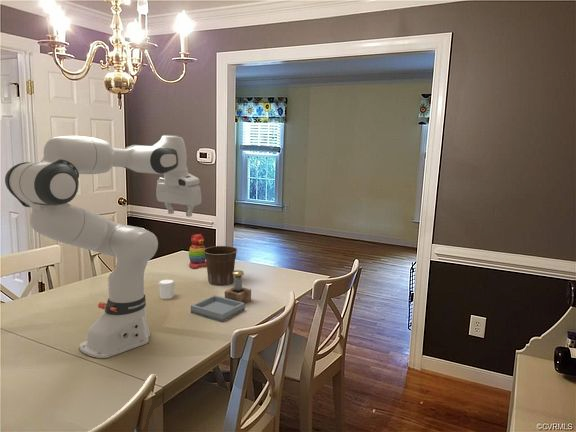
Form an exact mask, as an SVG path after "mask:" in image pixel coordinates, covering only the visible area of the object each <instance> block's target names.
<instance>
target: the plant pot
mask: <svg viewBox="0 0 576 432" xmlns="http://www.w3.org/2000/svg"><path fill="white" fill-rule="evenodd" d="M204 253H205V261H206V264H207V267H206V270H207V271H206V272H207V282H208V283H209V284H210V285H213V286H219V285H221V286H228V285H231V284H232V283H234V276H233V271H235V263H236V259H237V253H238V248H236V247H233V246H229V245H215V246H209V247H205V249H204Z"/></svg>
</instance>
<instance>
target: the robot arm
mask: <svg viewBox="0 0 576 432" xmlns="http://www.w3.org/2000/svg"><path fill="white" fill-rule="evenodd" d="M187 159H188V155H187V147H186V143H185V140H184V138H183V137H182V136H180V135H175V134H163V135H162V136H161V137H160V140H158V141H157V142H156V143H154V144H152V145H141V144H131V145H130V146H129V145H128V146H126V147H124V148H117V147H113V146H112V145H111V143H109V141H107V140H104V139H102V138H98V137H93V136H92V137H91V136H85V135H84V136H82V135H62V136H55V137H52V138H50V139H48V141H46V143H45V144H44V147H43V157H42V159H41V160H40V161H39V162H37V161H36V162H29V161H28V162H27V161H26V162H25V161H24V162H20V163H17V164H15V165H13V166H11V167H10V169H9V170H8V171H7V172H6V174H5V177H4V183H5V184H4V185H5V187H6V188H7V190H8V191H9V193H10V194H11V195H12V196H13V197H15V198H16V199H17V200H18V202H19V203H20V204H21V205H22V206H23V207H24V208H31V213H30V217H29V222H30V226H31V228H32V229H33V231H35V233H38V234H40V235H42V236H44V237H47V238H48V239H51V240H53V241H56V242H60V243H64V244H66V245H67V244H68V245H70V246H73V247H77V248H82V249H85V250H89V251H92V252H95V253H99V254H103V255H105V256H106V255H107V256H109V257H114V258H116V266H115V269H114V270H113V271H112V272H111V273H110V274H109V275H108V278H107V281H108V298H107V302H106V303H105V302H103V301H100V302H99V303H98V304H97V307H98V309H101V310H104V311H103V313H102V314H101V315H99V317H98V318H97V319H96V320H95V321H94V322H93V323H92V324H91V326H90V327H89V328H88V330H87V334H86V340H84V341H83V342H80V343H79V350H80V352H82V353H83V354H85V355H86V356H90V357H93V358H97V359H107V358H110V357H113V356H116V355H119V354H121V353H124V352H127V351H129V350H132V349H135V348H138V347H140V346H144V345H147V344H148V343H149V342H150V340H149V337H150V335H151V331H150V327H149V324H148V322H147V321H148V320H147V316H146V305H147V303H146V294H145V287H144V286H145V285H144V284H145V271H146V267H147V265H148V262H149V261H150V260H151V259H153V257H154V256H155V255H156V253H157V251H158V248H159V241H158V238H157V235H155V234H154V232H151V231H150V230H147V229H145V228H143V227H141V226H140V227H139V226H133V225H129V224H128V225H127V224H122V223H119V222H115V221H113V220H110V219H108V218H105V217H104V215H101V214H98V213H95V212H93V211H90V210H87V209H84V208H81V207H78V206H76V205H73V204H70V202H71V201H72V200H74V198H75V197H76V196H77V193H78V190H79V186H80V184H79V178H80V175H99V174H105V173H108V172H110V170H111V169H112V168H113V167H117V168H124V169H126V170H128V171H129V172H131V173H134V174H137V173H138V174H139V173H141V174H154V175H155V174H156V175H162V174H163V177H159V178H158V179H157V181H156V192H155V193H156V194H155V195H156V200H157V202H159V203H164V206H165V208H166V210H167V214H169V215H172V214H174V213H175V211H174V210H175V209H174V208H173V207H172V204H176V205H184V206H186V208H187V211H185V216H186V217H188V218H189V217H192V216H193V210H194V208H195V207H197V206H199V205H201V204H202V192H201V191H202V190H201V186H200V185H199V184H200V179H199V177H197V176H195V175H193V174H192V173H189V169H188V166H187Z"/></svg>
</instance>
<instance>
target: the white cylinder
mask: <svg viewBox="0 0 576 432" xmlns="http://www.w3.org/2000/svg"><path fill="white" fill-rule="evenodd" d="M157 283H158V289H159V290H158V291H159V297H160V300H161V299H162V300H170V299H172V298H174V297H175V296H174V295H175V280H174V279H171V278H170V279H168V278H167V279H160V280H159V281H158V282H157Z"/></svg>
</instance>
